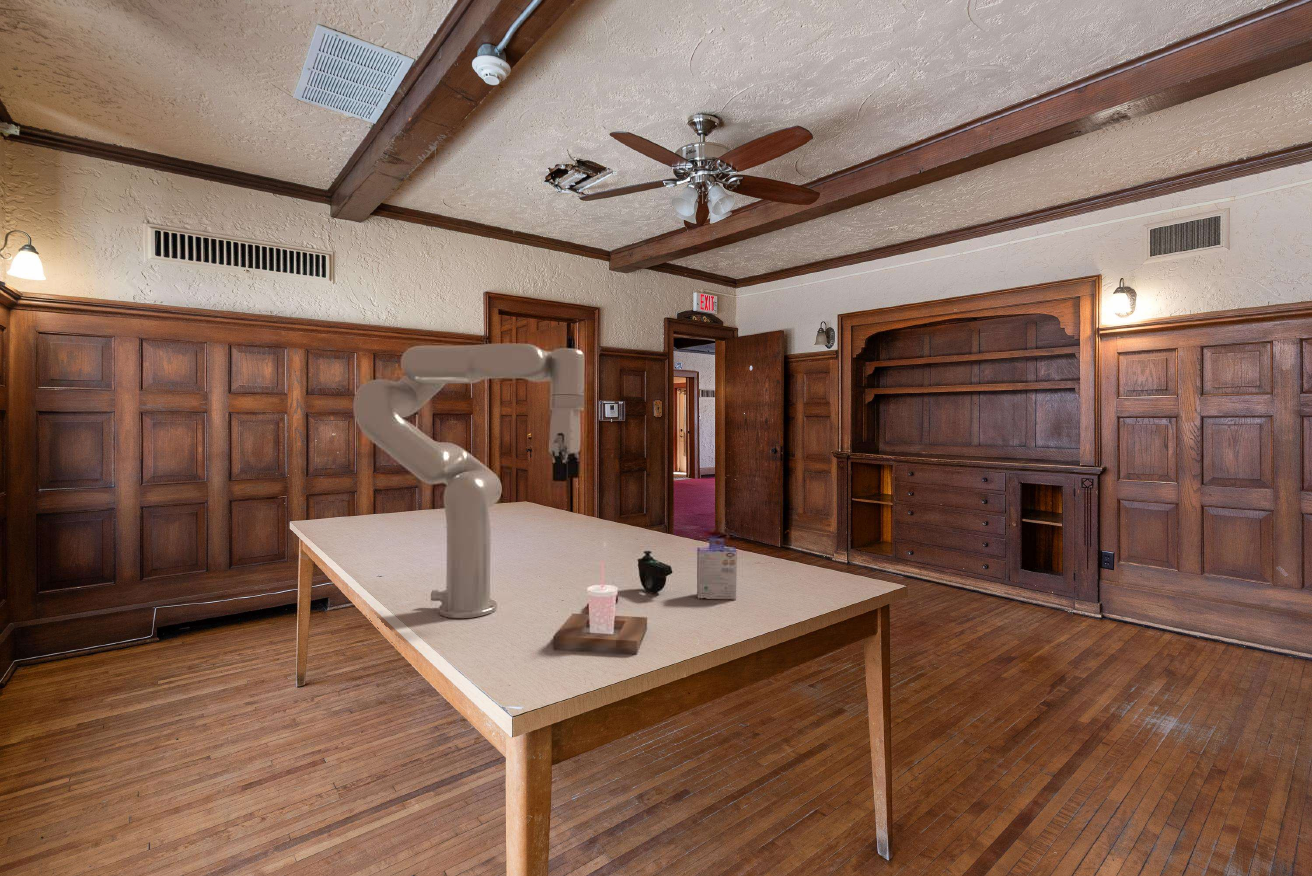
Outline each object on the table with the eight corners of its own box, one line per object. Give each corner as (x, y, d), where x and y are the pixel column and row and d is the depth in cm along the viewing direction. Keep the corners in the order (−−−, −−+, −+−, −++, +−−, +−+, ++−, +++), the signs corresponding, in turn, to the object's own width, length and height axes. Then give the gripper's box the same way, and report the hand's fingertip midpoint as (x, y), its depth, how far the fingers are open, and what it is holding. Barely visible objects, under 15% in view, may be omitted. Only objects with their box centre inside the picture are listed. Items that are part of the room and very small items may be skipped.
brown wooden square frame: (553, 649, 110) (553, 636, 110) (572, 625, 124) (572, 613, 124) (636, 654, 109) (637, 640, 109) (647, 629, 122) (647, 617, 122)
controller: (648, 586, 157) (649, 548, 157) (674, 597, 146) (675, 557, 146) (634, 588, 155) (635, 550, 154) (659, 599, 144) (660, 559, 144)
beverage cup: (609, 640, 113) (610, 567, 113) (580, 636, 115) (581, 565, 115) (621, 630, 119) (622, 561, 118) (594, 626, 121) (595, 559, 120)
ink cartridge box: (734, 594, 150) (735, 537, 150) (737, 600, 145) (738, 541, 145) (696, 593, 150) (696, 537, 150) (697, 599, 145) (698, 541, 145)
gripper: (561, 405, 141) (560, 476, 141) (538, 401, 124) (537, 482, 124) (592, 405, 140) (591, 477, 141) (573, 402, 123) (572, 483, 123)
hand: (566, 479), depth 132 cm, fingers open, 9 cm apart
